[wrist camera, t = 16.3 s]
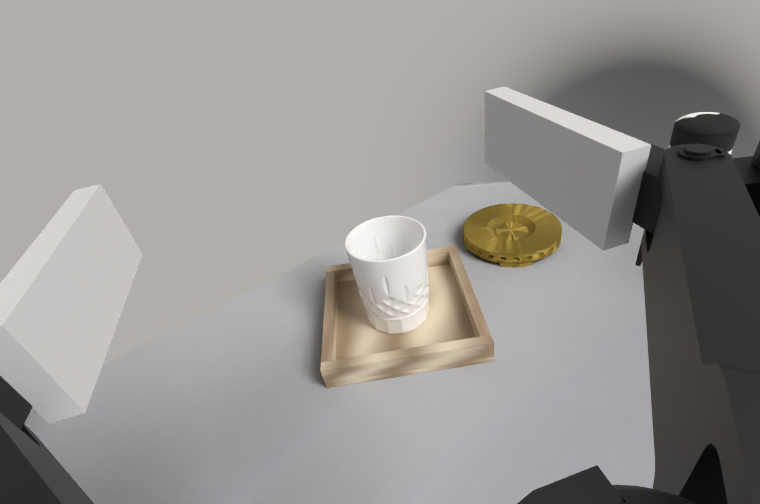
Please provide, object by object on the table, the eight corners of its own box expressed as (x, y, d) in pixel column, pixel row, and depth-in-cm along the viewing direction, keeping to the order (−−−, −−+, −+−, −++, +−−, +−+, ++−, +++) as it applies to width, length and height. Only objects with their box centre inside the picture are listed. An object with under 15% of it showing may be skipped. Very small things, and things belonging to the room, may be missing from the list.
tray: (326, 387, 40) (320, 370, 38) (331, 282, 53) (326, 267, 51) (493, 361, 39) (493, 342, 38) (456, 261, 52) (455, 245, 51)
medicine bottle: (729, 220, 50) (766, 123, 44) (666, 227, 51) (692, 132, 44) (694, 193, 56) (722, 103, 49) (638, 199, 57) (658, 112, 50)
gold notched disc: (579, 236, 53) (581, 222, 52) (521, 282, 48) (521, 267, 46) (502, 208, 61) (502, 195, 60) (445, 244, 56) (444, 231, 55)
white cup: (415, 280, 49) (405, 207, 44) (447, 321, 43) (440, 243, 38) (353, 303, 48) (335, 230, 42) (377, 350, 42) (359, 272, 36)
